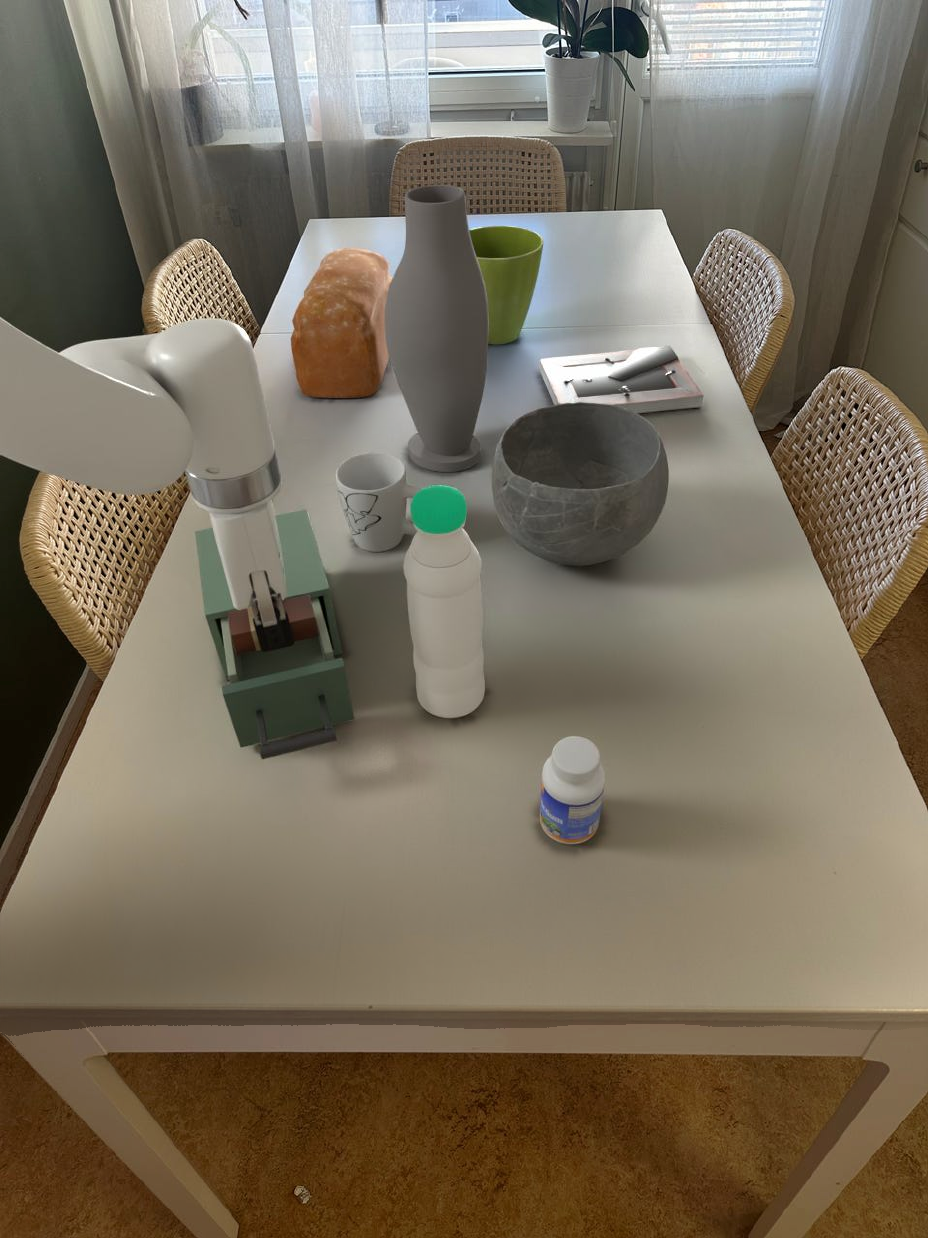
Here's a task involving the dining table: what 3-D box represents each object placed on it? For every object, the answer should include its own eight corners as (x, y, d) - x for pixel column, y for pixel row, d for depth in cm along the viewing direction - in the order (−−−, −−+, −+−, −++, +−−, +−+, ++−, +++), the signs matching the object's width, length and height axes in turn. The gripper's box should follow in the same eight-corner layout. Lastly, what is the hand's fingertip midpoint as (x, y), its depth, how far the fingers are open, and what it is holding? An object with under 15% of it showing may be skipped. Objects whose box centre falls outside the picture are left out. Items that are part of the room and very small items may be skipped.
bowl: (539, 480, 118) (542, 379, 108) (682, 522, 110) (700, 417, 100) (462, 564, 106) (457, 459, 96) (617, 619, 98) (630, 510, 87)
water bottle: (497, 686, 91) (495, 487, 74) (461, 731, 87) (450, 531, 69) (441, 662, 94) (426, 465, 77) (403, 704, 89) (379, 506, 72)
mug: (442, 525, 112) (438, 459, 105) (423, 566, 106) (417, 498, 99) (359, 513, 114) (350, 448, 107) (335, 553, 108) (324, 486, 101)
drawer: (366, 762, 83) (356, 708, 78) (246, 793, 81) (228, 740, 76) (330, 631, 97) (320, 578, 91) (227, 655, 94) (210, 601, 89)
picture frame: (668, 359, 143) (539, 371, 141) (670, 345, 141) (539, 357, 139) (701, 409, 131) (560, 423, 129) (704, 394, 129) (561, 408, 127)
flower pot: (502, 309, 159) (501, 218, 148) (558, 335, 150) (562, 240, 139) (438, 334, 152) (432, 241, 141) (494, 363, 144) (492, 266, 133)
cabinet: (342, 654, 95) (329, 588, 89) (226, 680, 93) (205, 615, 86) (319, 573, 105) (307, 508, 99) (215, 595, 103) (195, 531, 97)
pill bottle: (529, 806, 80) (531, 739, 73) (582, 788, 81) (589, 720, 74) (555, 855, 76) (559, 789, 69) (610, 835, 77) (619, 768, 71)
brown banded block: (319, 636, 84) (315, 617, 82) (236, 655, 83) (230, 635, 81) (313, 613, 87) (309, 593, 85) (233, 630, 85) (227, 611, 83)
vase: (386, 470, 121) (356, 206, 98) (419, 424, 130) (399, 172, 106) (475, 485, 118) (467, 215, 94) (503, 436, 127) (502, 179, 103)
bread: (294, 399, 137) (276, 302, 126) (326, 327, 156) (312, 237, 145) (380, 400, 136) (369, 302, 125) (402, 327, 155) (394, 237, 144)
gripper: (182, 432, 77) (228, 587, 90) (194, 541, 65) (245, 702, 78) (266, 417, 79) (300, 572, 91) (293, 520, 67) (327, 682, 79)
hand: (274, 630), depth 84 cm, fingers closed on brown banded block, 3 cm apart
